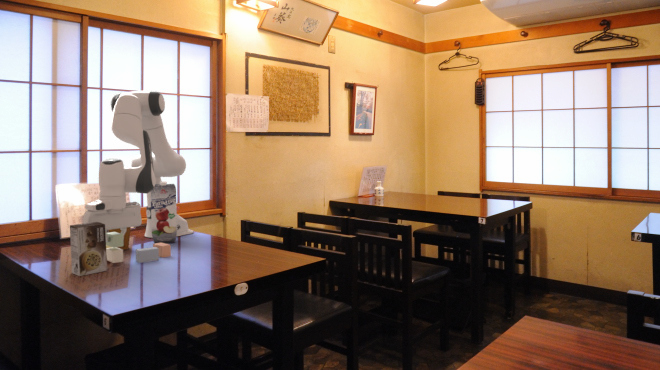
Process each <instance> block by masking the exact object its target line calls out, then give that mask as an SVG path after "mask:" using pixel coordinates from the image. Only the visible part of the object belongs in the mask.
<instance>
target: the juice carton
mask: <svg viewBox="0 0 660 370" xmlns="http://www.w3.org/2000/svg"><path fill="white" fill-rule="evenodd" d="M161 181H162V182H160V184H155V188H154V189H153V190H151V227H152V238H151V239H152V240H153V241H152V242H153V244H155V243H165V244H172V243H175V242H176V239H177V236H176V235H177V214H178V213H177V212H178V211H177V207H176V206H177V188H176V185H175V184H174V183H167V181H163V180H161Z"/></svg>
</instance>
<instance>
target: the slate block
mask: <svg viewBox="0 0 660 370" xmlns="http://www.w3.org/2000/svg"><path fill="white" fill-rule="evenodd" d="M135 260H136V261H135V262H137V263H139V264H141V263H142V264H143V263H149V262H155V261H159V260H160V257H159V248H156V247H153V246H152V247H147V248H146V247H145V248H143V247H142V248H138V249H135Z"/></svg>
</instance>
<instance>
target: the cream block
mask: <svg viewBox="0 0 660 370" xmlns="http://www.w3.org/2000/svg"><path fill="white" fill-rule="evenodd" d="M106 255H107V262H110V263H112V264H116V263H122V262H124V250H122V249H120V248H117V247H115V248H113V247H111V248H106Z"/></svg>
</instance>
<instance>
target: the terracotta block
mask: <svg viewBox="0 0 660 370" xmlns="http://www.w3.org/2000/svg"><path fill="white" fill-rule="evenodd" d="M152 247H156V248H159V258H167V257H172V252H171V251H172V250H171V249H172V248H171V244H170V243H152Z"/></svg>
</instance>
